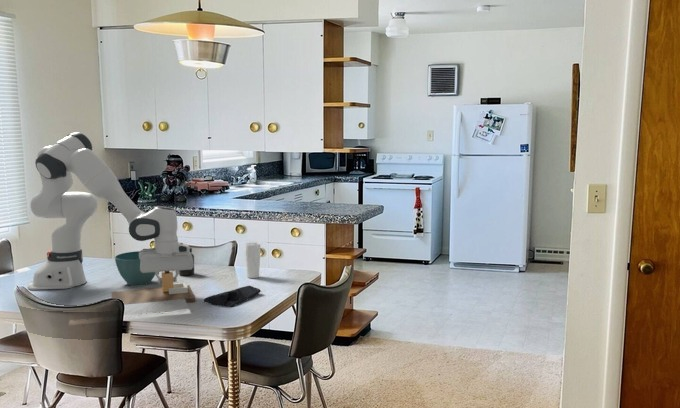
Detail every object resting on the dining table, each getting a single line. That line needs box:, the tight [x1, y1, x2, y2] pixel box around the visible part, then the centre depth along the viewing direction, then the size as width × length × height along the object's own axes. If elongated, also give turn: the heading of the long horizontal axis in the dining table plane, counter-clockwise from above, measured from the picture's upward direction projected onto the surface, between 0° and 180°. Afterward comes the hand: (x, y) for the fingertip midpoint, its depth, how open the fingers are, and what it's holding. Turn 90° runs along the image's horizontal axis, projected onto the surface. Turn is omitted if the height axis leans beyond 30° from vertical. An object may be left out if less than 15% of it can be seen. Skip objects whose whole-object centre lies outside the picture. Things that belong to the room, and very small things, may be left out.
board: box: [110, 284, 197, 305], centre depth 241 cm, size 30×20×2 cm, turn 110°
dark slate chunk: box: [203, 285, 262, 308], centre depth 242 cm, size 15×22×5 cm
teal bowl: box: [114, 250, 156, 287], centre depth 263 cm, size 18×18×12 cm
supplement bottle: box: [178, 247, 195, 277], centre depth 280 cm, size 7×7×12 cm
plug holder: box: [169, 282, 188, 294], centre depth 247 cm, size 7×8×2 cm
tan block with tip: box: [161, 271, 174, 292], centre depth 244 cm, size 4×4×10 cm
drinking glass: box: [244, 242, 262, 279], centre depth 275 cm, size 7×7×15 cm
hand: (167, 282), depth 245 cm, fingers closed on tan block with tip, 4 cm apart
